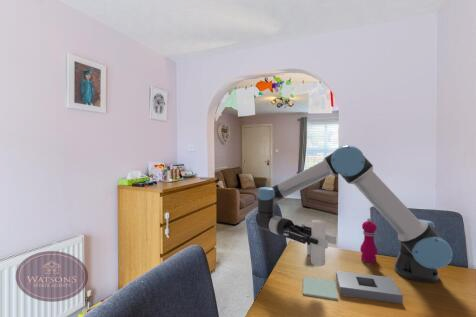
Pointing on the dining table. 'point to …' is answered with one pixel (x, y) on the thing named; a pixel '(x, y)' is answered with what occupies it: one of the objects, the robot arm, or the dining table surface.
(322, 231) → the plug
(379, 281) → the grey holed plate
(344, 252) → the dining table surface
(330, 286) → the pad
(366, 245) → the pink bowling pin
